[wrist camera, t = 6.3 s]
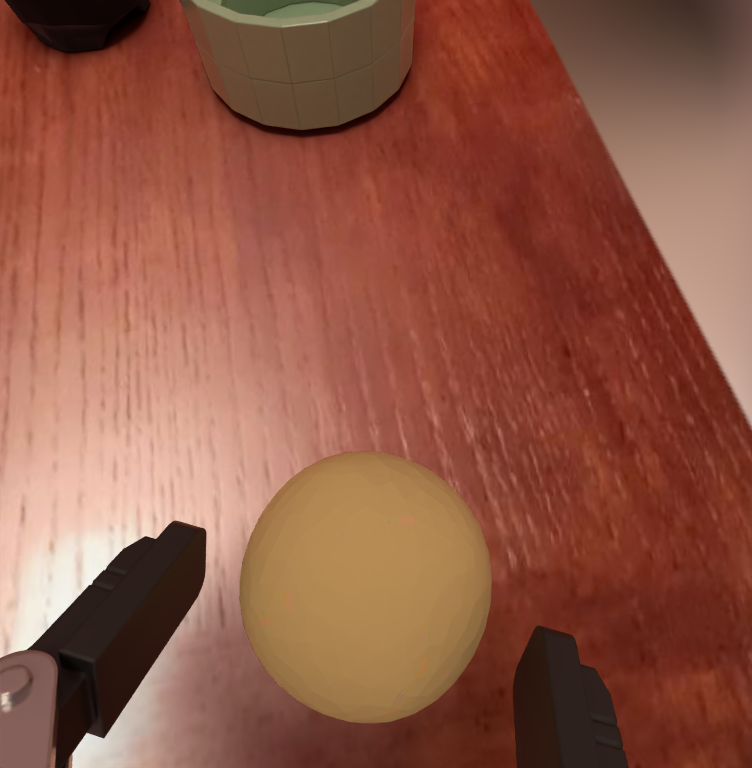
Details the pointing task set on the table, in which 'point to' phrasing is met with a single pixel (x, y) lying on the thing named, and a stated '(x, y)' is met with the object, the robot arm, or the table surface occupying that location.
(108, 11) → the portable speaker
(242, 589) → the light bulb
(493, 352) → the table surface
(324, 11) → the green stepped bowl
